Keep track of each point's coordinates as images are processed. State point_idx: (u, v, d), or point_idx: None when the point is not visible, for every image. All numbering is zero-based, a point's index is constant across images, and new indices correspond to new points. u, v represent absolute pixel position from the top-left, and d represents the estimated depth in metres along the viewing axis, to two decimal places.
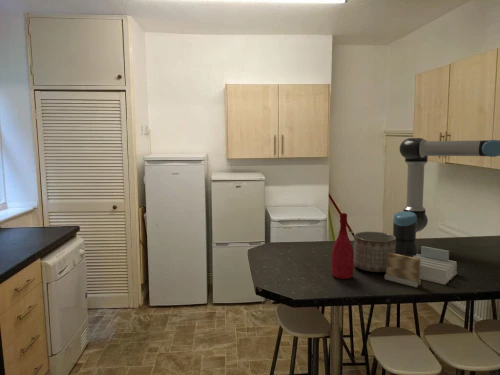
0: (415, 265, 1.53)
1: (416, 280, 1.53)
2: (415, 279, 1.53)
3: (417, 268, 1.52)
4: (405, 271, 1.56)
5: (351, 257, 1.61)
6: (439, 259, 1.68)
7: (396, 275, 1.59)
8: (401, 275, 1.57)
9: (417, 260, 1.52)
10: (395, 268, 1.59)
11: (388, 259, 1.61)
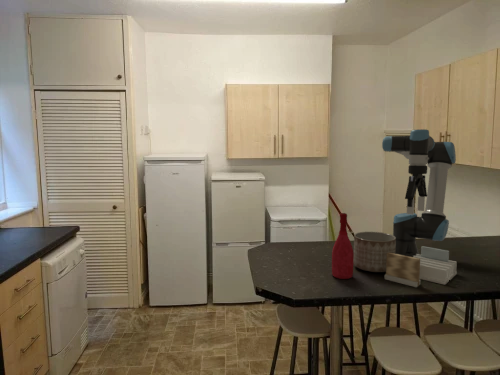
0: (415, 265, 1.53)
1: (416, 280, 1.53)
2: (415, 279, 1.53)
3: (417, 268, 1.52)
4: (405, 271, 1.56)
5: (351, 257, 1.61)
6: (439, 259, 1.68)
7: (396, 275, 1.59)
8: (401, 275, 1.57)
9: (417, 260, 1.52)
10: (395, 268, 1.59)
11: (388, 259, 1.61)
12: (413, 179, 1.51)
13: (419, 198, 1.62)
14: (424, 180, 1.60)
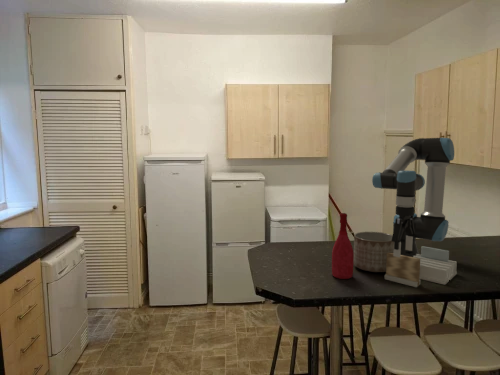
0: (415, 265, 1.53)
1: (416, 280, 1.53)
2: (415, 279, 1.53)
3: (417, 268, 1.52)
4: (405, 271, 1.56)
5: (351, 257, 1.61)
6: (439, 259, 1.68)
7: (396, 275, 1.59)
8: (401, 275, 1.57)
9: (417, 260, 1.52)
10: (395, 268, 1.59)
11: (388, 259, 1.61)
12: (399, 221, 1.49)
13: (407, 238, 1.61)
14: (412, 220, 1.58)
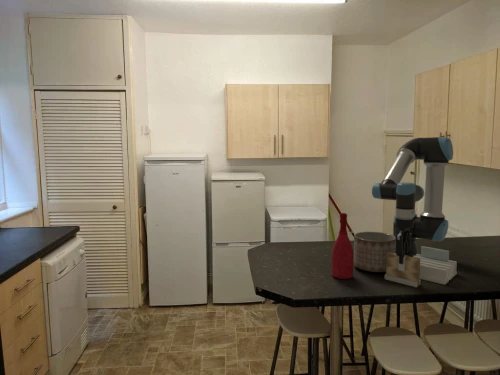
0: (415, 265, 1.53)
1: (416, 280, 1.53)
2: (415, 279, 1.53)
3: (417, 268, 1.52)
4: (405, 271, 1.56)
5: (351, 257, 1.61)
6: (439, 259, 1.68)
7: (396, 275, 1.59)
8: (401, 275, 1.57)
9: (417, 260, 1.52)
10: (395, 268, 1.59)
11: (388, 259, 1.61)
12: (399, 238, 1.51)
13: None
14: (410, 235, 1.58)
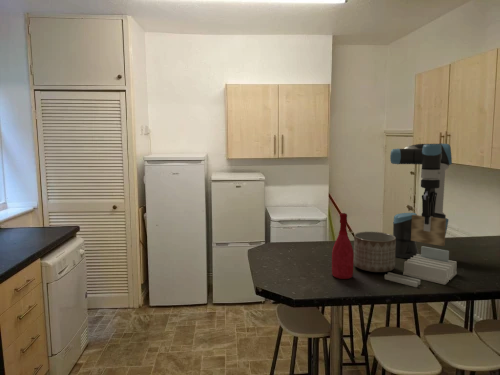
0: (441, 225, 1.55)
1: (442, 240, 1.55)
2: (441, 239, 1.56)
3: (443, 228, 1.55)
4: (430, 231, 1.59)
5: (351, 257, 1.61)
6: (439, 259, 1.68)
7: (421, 237, 1.62)
8: (426, 236, 1.60)
9: (443, 220, 1.54)
10: (420, 229, 1.62)
11: (413, 221, 1.63)
12: (426, 198, 1.54)
13: None
14: (435, 197, 1.61)
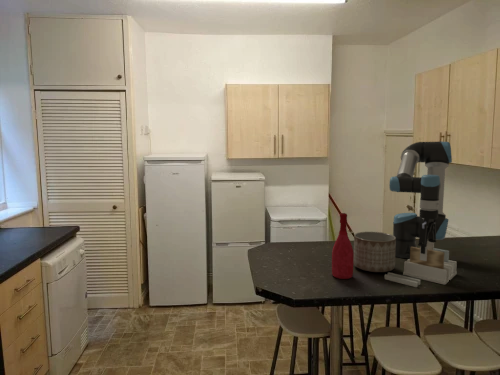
0: (439, 258, 1.57)
1: None
2: None
3: (441, 261, 1.57)
4: (429, 264, 1.60)
5: (351, 257, 1.61)
6: None
7: None
8: None
9: (441, 253, 1.56)
10: (419, 262, 1.63)
11: (412, 253, 1.65)
12: (424, 226, 1.55)
13: (428, 243, 1.64)
14: (434, 224, 1.63)
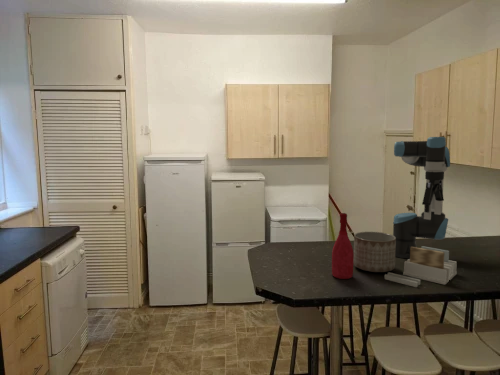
0: (439, 258, 1.57)
1: None
2: None
3: (441, 261, 1.57)
4: (429, 264, 1.60)
5: (351, 257, 1.61)
6: None
7: None
8: None
9: (441, 253, 1.56)
10: (419, 262, 1.63)
11: (412, 253, 1.65)
12: (430, 185, 1.56)
13: (436, 202, 1.67)
14: (441, 185, 1.65)
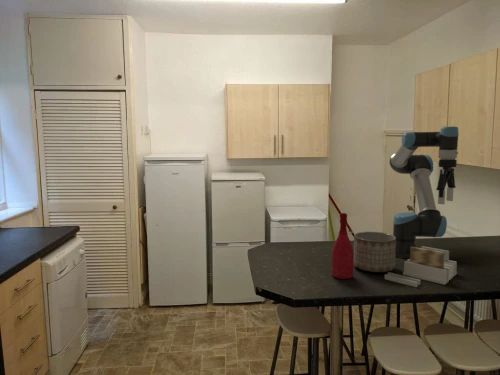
0: (439, 258, 1.57)
1: None
2: None
3: (441, 261, 1.57)
4: (429, 264, 1.60)
5: (351, 257, 1.61)
6: None
7: None
8: None
9: (441, 253, 1.56)
10: (419, 262, 1.63)
11: (412, 253, 1.65)
12: (444, 172, 1.66)
13: (448, 189, 1.77)
14: (453, 173, 1.75)
